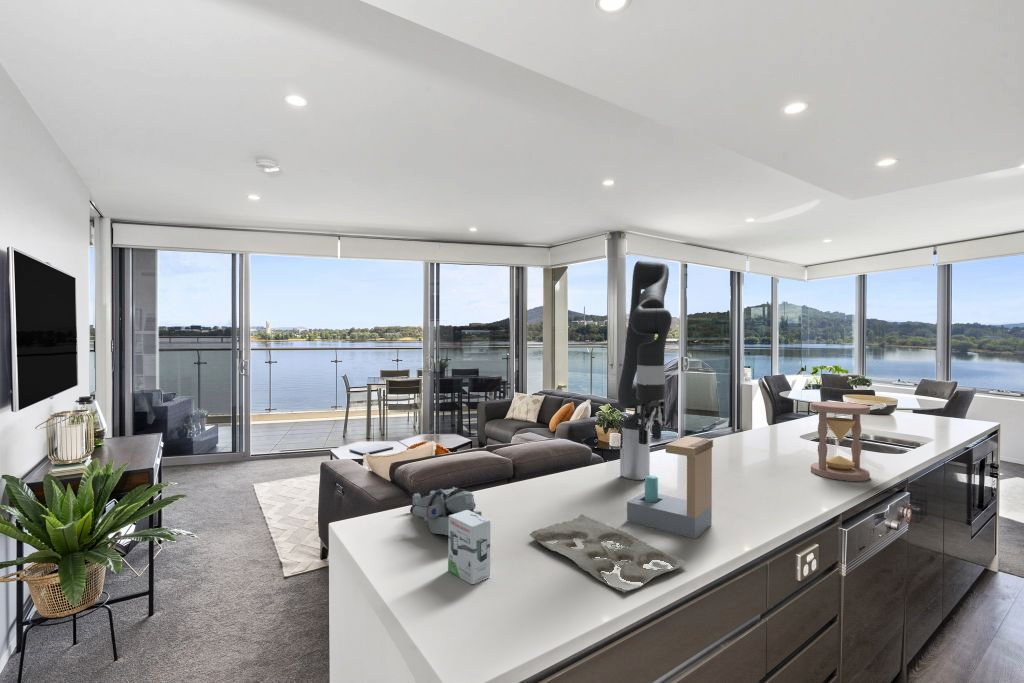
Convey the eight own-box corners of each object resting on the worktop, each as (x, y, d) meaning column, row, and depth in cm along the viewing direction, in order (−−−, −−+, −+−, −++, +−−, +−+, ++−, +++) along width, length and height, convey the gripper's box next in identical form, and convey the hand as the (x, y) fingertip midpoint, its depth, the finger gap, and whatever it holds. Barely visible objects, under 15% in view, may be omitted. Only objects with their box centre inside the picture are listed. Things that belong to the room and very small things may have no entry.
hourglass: (851, 468, 182) (851, 401, 182) (881, 482, 165) (882, 408, 165) (801, 467, 184) (801, 401, 184) (826, 480, 167) (826, 407, 167)
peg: (642, 518, 132) (642, 477, 132) (648, 514, 134) (648, 474, 134) (654, 521, 129) (654, 479, 129) (659, 517, 132) (660, 477, 132)
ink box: (446, 570, 102) (446, 514, 102) (465, 563, 105) (465, 508, 105) (472, 586, 96) (472, 525, 95) (491, 577, 99) (491, 519, 99)
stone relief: (623, 600, 91) (689, 569, 103) (623, 585, 91) (689, 555, 103) (522, 542, 118) (583, 522, 129) (522, 530, 118) (583, 511, 129)
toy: (450, 482, 143) (496, 483, 118) (454, 520, 141) (501, 530, 116) (394, 491, 135) (430, 494, 110) (397, 532, 133) (434, 544, 108)
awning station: (625, 521, 129) (625, 438, 129) (648, 507, 140) (648, 431, 140) (693, 540, 117) (693, 448, 117) (712, 523, 128) (713, 439, 128)
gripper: (649, 379, 141) (648, 435, 141) (625, 383, 130) (625, 443, 130) (674, 380, 136) (673, 439, 136) (652, 385, 125) (651, 448, 125)
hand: (650, 441), depth 133 cm, fingers open, 8 cm apart
